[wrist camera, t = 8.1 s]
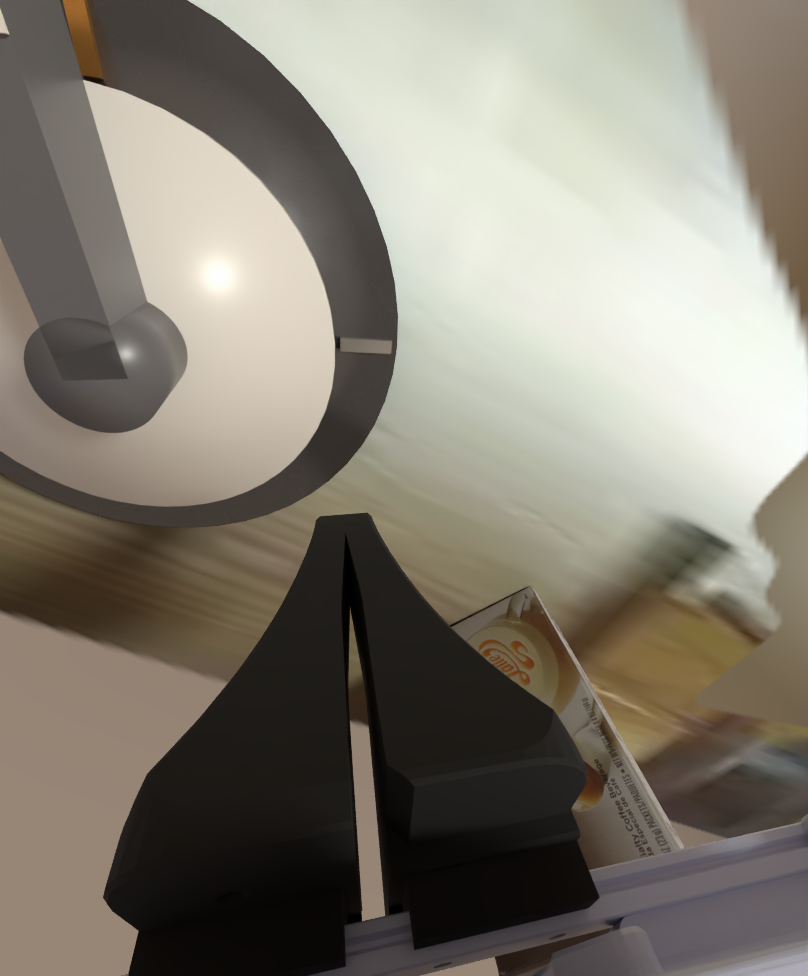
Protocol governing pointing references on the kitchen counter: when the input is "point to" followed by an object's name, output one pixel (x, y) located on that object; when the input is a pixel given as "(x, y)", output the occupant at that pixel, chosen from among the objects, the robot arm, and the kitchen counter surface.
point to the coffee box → (611, 768)
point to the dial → (144, 291)
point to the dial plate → (301, 190)
